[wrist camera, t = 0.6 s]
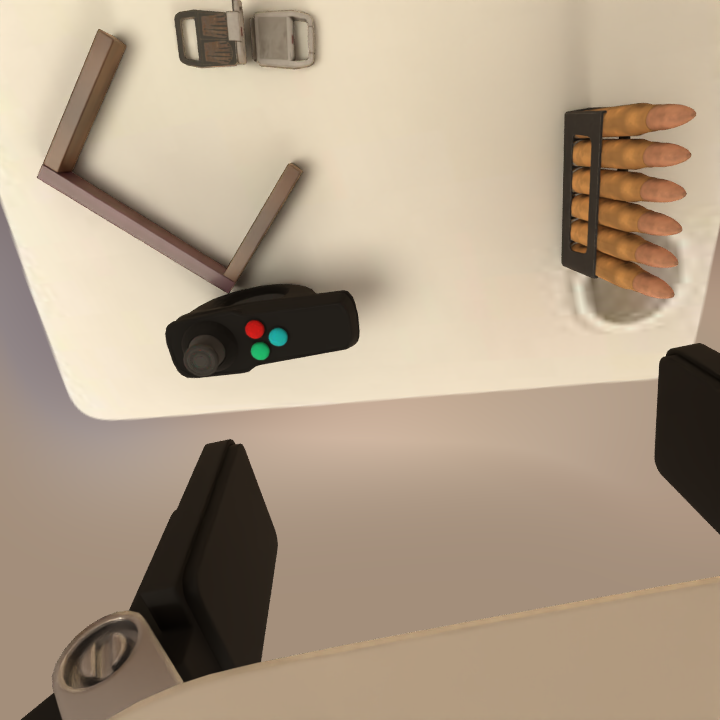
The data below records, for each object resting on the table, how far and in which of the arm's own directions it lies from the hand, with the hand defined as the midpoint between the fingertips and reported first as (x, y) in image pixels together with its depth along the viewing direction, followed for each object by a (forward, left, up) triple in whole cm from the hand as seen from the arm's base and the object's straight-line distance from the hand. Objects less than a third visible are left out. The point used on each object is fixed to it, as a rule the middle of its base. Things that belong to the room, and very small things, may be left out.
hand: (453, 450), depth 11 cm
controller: (+8, -3, -28) cm, 29 cm away
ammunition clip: (-11, +10, -28) cm, 32 cm away
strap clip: (-6, -14, -28) cm, 31 cm away
